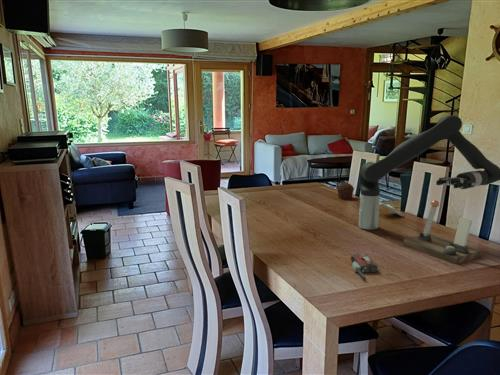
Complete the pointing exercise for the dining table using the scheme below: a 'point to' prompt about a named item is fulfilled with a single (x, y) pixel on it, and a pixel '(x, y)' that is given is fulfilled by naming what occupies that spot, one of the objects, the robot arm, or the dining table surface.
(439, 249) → the walnut switch panel
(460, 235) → the panel
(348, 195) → the muffin
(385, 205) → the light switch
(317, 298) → the dining table surface
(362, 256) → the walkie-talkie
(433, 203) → the steel toggle lever
